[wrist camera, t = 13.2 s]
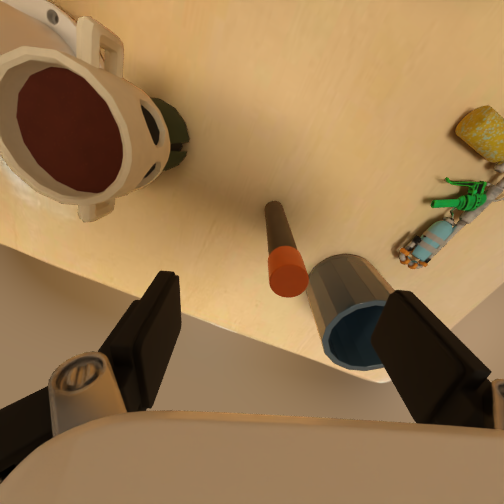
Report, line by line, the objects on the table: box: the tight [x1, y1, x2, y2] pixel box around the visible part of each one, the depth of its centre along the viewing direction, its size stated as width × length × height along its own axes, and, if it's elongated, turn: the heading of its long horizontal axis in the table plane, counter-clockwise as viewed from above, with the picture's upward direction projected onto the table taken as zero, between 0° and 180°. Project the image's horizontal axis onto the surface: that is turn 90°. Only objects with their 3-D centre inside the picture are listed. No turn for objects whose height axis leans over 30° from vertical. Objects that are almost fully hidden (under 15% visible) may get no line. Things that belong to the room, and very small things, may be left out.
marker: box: [265, 201, 309, 297], centre depth 20 cm, size 2×2×14 cm
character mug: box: [0, 16, 189, 222], centre depth 17 cm, size 11×7×13 cm, turn 162°
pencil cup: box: [306, 254, 395, 371], centre depth 26 cm, size 9×9×9 cm
